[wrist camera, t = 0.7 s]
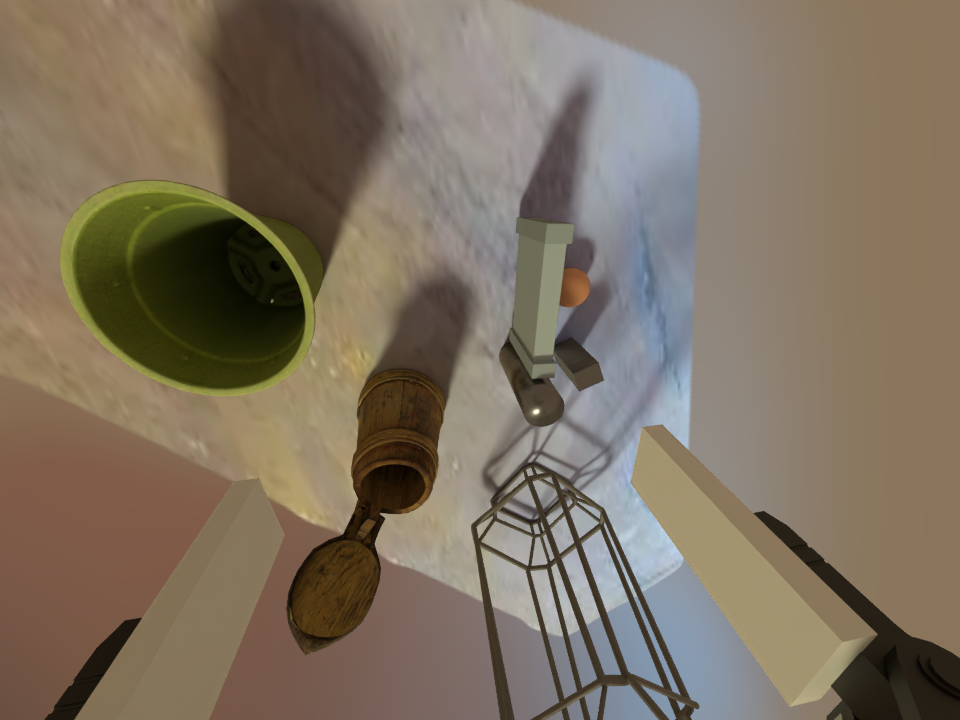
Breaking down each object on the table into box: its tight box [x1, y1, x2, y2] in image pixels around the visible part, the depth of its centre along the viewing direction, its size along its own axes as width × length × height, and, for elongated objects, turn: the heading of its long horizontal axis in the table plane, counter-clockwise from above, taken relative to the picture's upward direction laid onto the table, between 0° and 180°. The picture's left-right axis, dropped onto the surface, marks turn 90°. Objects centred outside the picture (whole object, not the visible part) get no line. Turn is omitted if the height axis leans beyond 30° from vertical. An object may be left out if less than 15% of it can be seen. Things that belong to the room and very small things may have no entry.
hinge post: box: [499, 342, 564, 427], centre depth 30 cm, size 3×3×10 cm
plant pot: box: [60, 180, 323, 396], centre depth 23 cm, size 12×12×11 cm
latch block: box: [553, 338, 604, 391], centre depth 33 cm, size 2×2×6 cm
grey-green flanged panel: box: [509, 217, 574, 379], centre depth 27 cm, size 11×2×8 cm, turn 179°
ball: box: [559, 268, 590, 307], centre depth 31 cm, size 4×4×4 cm
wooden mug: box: [287, 369, 446, 655], centre depth 28 cm, size 9×14×18 cm, turn 140°
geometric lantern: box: [471, 464, 699, 720], centre depth 28 cm, size 16×16×35 cm
